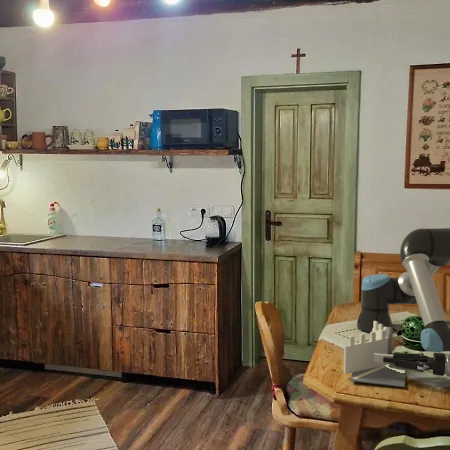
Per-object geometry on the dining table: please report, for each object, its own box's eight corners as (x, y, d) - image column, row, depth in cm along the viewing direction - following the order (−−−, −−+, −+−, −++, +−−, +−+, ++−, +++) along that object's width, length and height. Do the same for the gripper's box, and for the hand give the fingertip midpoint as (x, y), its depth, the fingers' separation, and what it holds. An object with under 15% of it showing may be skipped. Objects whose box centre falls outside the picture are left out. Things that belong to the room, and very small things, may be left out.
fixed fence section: (392, 365, 209) (393, 328, 207) (387, 365, 208) (388, 328, 207) (375, 352, 223) (376, 318, 221) (370, 353, 222) (371, 318, 221)
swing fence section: (385, 363, 209) (386, 329, 208) (387, 364, 208) (388, 329, 207) (343, 373, 200) (344, 337, 199) (345, 374, 199) (346, 337, 198)
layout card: (359, 351, 226) (359, 349, 226) (406, 355, 220) (406, 354, 220) (350, 380, 195) (350, 379, 195) (404, 387, 189) (404, 385, 189)
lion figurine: (387, 329, 233) (408, 335, 228) (386, 340, 235) (407, 347, 230) (372, 345, 223) (394, 352, 217) (371, 356, 224) (393, 364, 219)
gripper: (445, 382, 185) (371, 373, 193) (444, 369, 197) (375, 361, 205) (446, 360, 184) (372, 352, 192) (445, 348, 197) (375, 341, 204)
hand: (373, 357), depth 199 cm, fingers closed
